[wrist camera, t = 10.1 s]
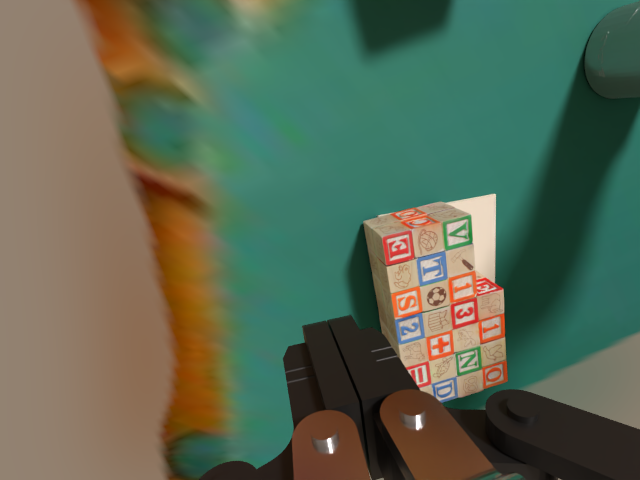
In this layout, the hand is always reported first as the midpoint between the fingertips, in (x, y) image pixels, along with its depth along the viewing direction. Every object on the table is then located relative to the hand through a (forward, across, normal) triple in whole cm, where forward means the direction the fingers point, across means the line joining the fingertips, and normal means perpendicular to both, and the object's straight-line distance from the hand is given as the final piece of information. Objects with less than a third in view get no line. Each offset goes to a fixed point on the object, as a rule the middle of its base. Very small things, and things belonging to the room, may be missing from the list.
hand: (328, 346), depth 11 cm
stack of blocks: (+26, -10, +16) cm, 31 cm away
